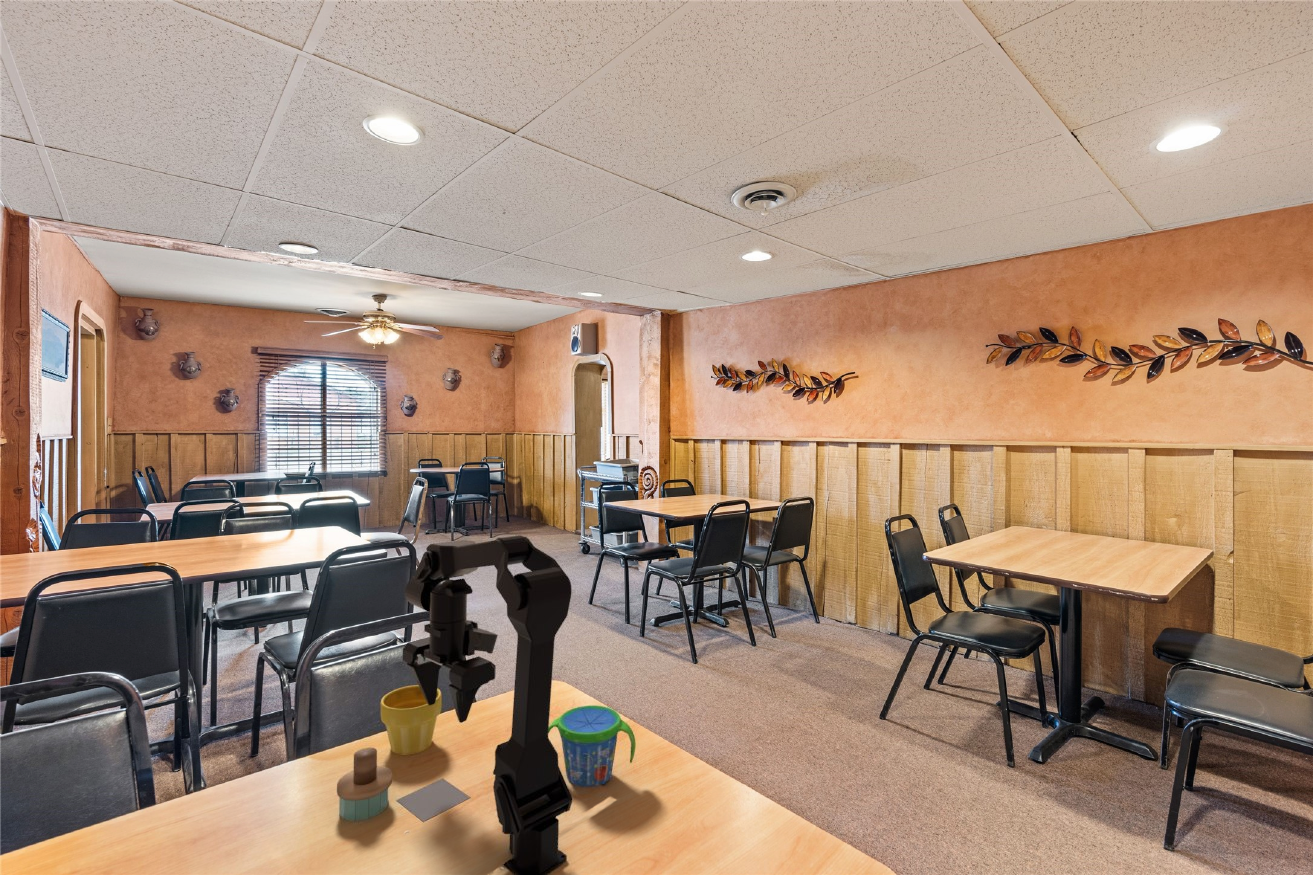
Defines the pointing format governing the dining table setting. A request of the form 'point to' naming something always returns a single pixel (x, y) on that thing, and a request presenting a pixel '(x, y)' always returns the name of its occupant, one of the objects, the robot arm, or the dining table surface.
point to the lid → (364, 777)
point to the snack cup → (590, 743)
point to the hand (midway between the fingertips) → (446, 712)
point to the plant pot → (409, 719)
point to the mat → (433, 799)
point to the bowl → (363, 807)
